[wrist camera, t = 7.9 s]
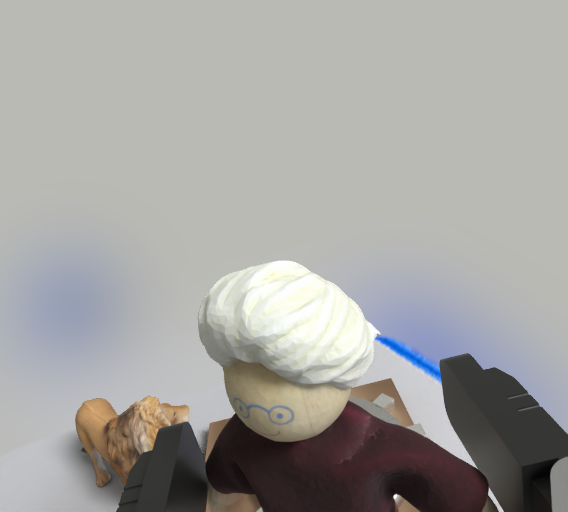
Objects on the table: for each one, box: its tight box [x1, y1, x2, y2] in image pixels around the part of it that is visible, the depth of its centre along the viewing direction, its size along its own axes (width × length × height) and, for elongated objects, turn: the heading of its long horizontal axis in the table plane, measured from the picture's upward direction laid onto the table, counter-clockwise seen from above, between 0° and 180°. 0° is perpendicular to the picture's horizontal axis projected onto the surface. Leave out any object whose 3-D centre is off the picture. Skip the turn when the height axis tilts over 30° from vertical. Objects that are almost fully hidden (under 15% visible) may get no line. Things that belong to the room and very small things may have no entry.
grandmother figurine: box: [198, 261, 499, 512], centre depth 10 cm, size 8×4×13 cm, turn 81°
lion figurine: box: [75, 396, 189, 487], centre depth 33 cm, size 15×5×9 cm, turn 62°
